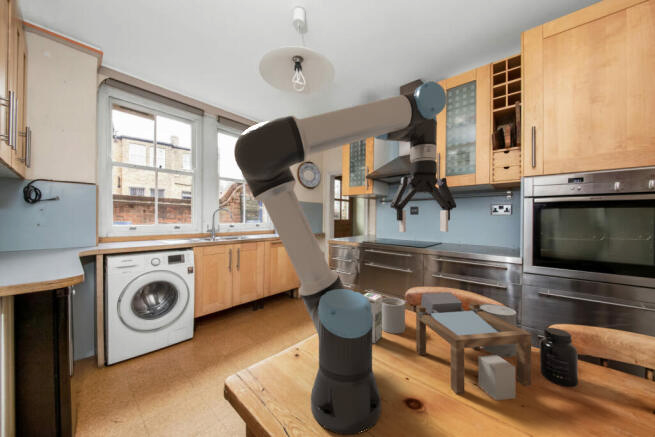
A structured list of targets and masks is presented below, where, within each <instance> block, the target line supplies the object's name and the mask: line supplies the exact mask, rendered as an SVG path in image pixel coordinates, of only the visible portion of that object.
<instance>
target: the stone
mask: <svg viewBox="0 0 655 437" xmlns="http://www.w3.org/2000/svg"><path fill="white" fill-rule="evenodd" d="M477 357H478V362H477V363H478V373H477V374H478V386H479V387H480V388H481V389H483V390H484V392H486V393H487V394H488V395H489V396H491V398H493V399H494V400H495V401H501V400H502V401H503V400H509V399H510V400H511V399H516V366H514V365H513V364H511V363H510V362H508V361H507V360H505V359H504V358H503V357H502V356H498V355H494V354H490V355H478V356H477Z"/></svg>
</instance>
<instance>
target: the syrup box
mask: <svg viewBox="0 0 655 437" xmlns="http://www.w3.org/2000/svg"><path fill="white" fill-rule="evenodd" d="M363 295H364V296H365V297H367V299H368V300H369V301H370V303H371V307H372V315H373V324H372V344H377V342H378V341H379V340H380V339H381V338H382V336H383V334H382V332H383V330H382V299H383V296H382V295H380V294H377V293H373V292H372V293H371V292H367V293H365V294H363Z"/></svg>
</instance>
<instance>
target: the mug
mask: <svg viewBox="0 0 655 437" xmlns="http://www.w3.org/2000/svg"><path fill="white" fill-rule="evenodd" d="M382 331H384V332H386V333H389V334H396V335H397V334H402V333H404V332H405V331H406V301H404V300H403V299H400V298H399V297H398V298H397V297H384V298H383V297H382Z"/></svg>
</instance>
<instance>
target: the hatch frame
mask: <svg viewBox="0 0 655 437" xmlns="http://www.w3.org/2000/svg"><path fill="white" fill-rule="evenodd" d="M480 305H481V303H477V302H472V301H471V302H469V303H468V308H469V309H468V311H473V312H475V313H476V314H477V315H478V316H479V317H481V318H482V319H483V320H484V321H485V322H487V323H488V324H489V325H491V326H493V327H495V328H497V329H499V330H501V331H503V332H494V333H482V334H469V335H457V334H455V333H454V332H453V331H451V330H450V329H448V328H447V327H445V326H444V325H443V324H441V323H440V322H438V321H437V320H435V319H434V318H433V317H431V316H430V315H429V313H428V312H427V311H426V308H425V307H424V306H422V305H421V304H420V305H416V306H415V316H416V320H415V323H416V324H415V328H416V329H415V333H416V334H415V336H416V337H415V339H416V340H415V341H416V343H415V344H416V345H415V348H416V349H415V351H416V353H417V354H418V355H419V356H426V355H427V327H428V328H429V329H430V330H432V331H433V332H435V334H437V335H438V336H439V337H440V338H442V339H443V340H445V342H447V343H448V344H449V345H450V389H451V391H452V392H454V393H455V395H463V394H465V349H471V350H473V351H480V350H481V347H483V346H494V345H505V344H516V356H515V357H516V360H515V361H516V381H517V383H519V384H520V385H521V386H523V387H530V386H532V383H533V382H532V381H533V380H532V334H531V333H530V332H528V331H526V330H524V329H522V328H519V327H518V326H517V325H516V326H513V325H511V324H509V323H507V322H505V321H503V320H501V319H499V318H497V317H495V316H492V315H490V314H488V313H486V312H484V311H483V309H481V308H480Z"/></svg>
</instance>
